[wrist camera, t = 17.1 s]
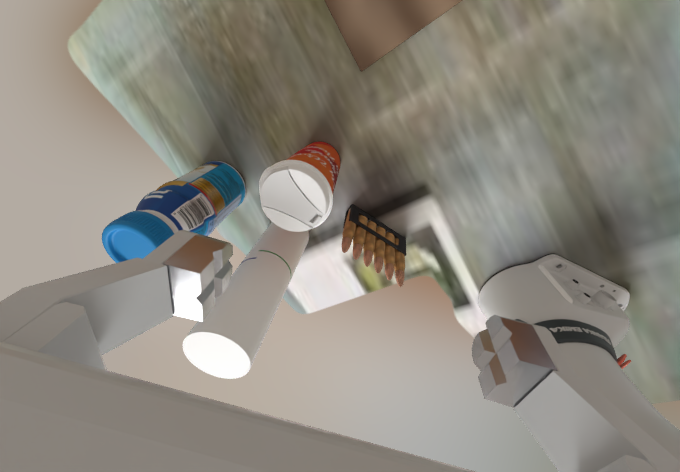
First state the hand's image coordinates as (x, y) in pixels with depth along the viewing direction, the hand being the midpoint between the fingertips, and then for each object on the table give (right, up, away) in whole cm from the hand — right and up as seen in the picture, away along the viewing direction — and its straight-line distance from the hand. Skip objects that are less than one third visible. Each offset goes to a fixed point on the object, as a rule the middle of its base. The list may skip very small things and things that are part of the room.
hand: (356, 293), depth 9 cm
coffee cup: (-3, +13, +34) cm, 37 cm away
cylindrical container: (-9, +2, +42) cm, 43 cm away
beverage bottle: (-20, +10, +39) cm, 45 cm away
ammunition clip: (+5, +4, +39) cm, 39 cm away
